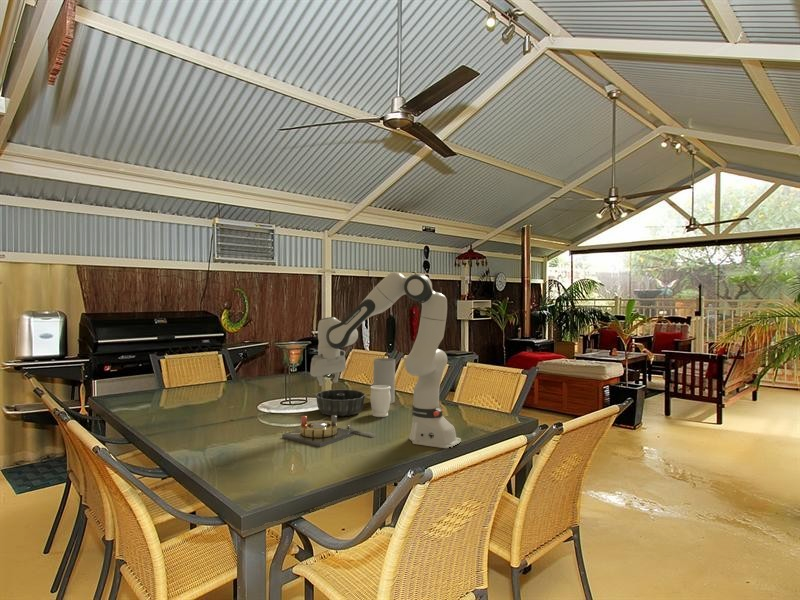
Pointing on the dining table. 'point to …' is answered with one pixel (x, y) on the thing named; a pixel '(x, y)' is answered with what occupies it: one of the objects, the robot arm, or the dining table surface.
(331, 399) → the bundt pan
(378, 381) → the cylinder vase
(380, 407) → the jar
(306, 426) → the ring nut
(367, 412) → the dining table surface
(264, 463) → the dining table surface
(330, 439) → the cap plate
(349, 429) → the spanner
